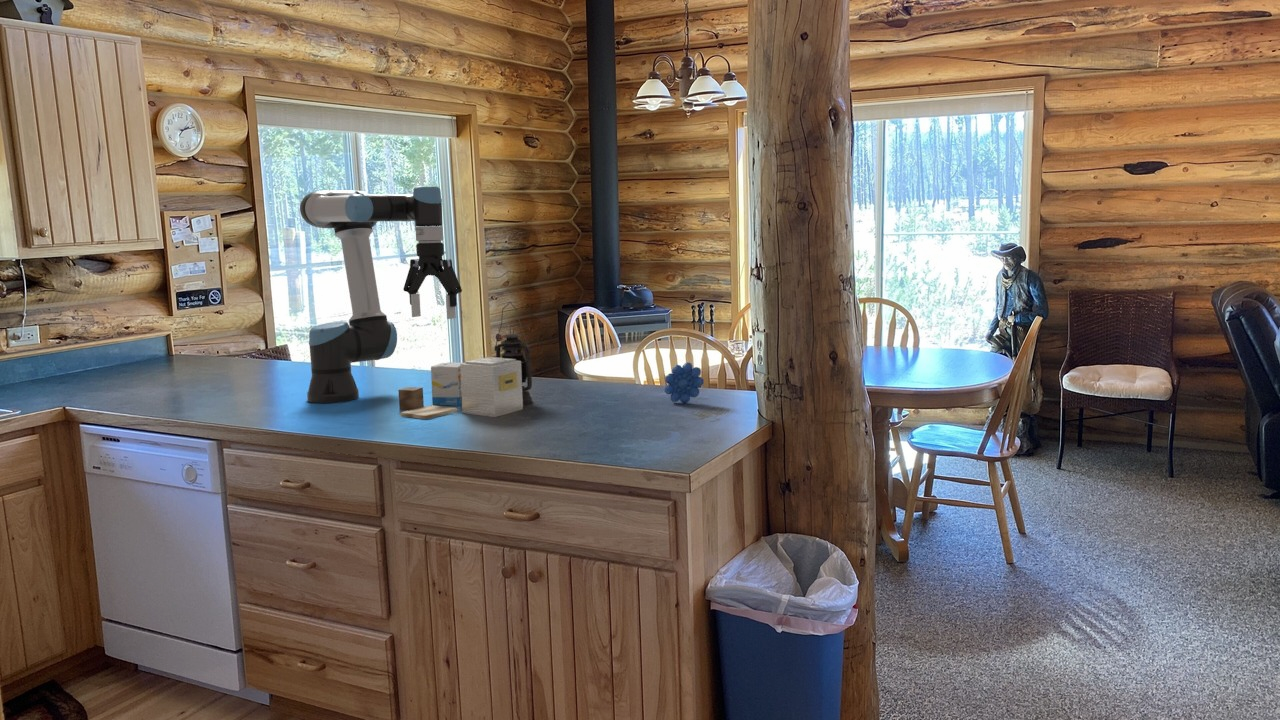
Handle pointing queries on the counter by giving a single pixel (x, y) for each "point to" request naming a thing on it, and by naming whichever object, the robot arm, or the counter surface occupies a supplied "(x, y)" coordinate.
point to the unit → (491, 386)
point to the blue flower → (683, 382)
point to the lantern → (517, 357)
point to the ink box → (446, 384)
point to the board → (428, 412)
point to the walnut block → (411, 398)
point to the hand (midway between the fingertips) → (433, 317)
